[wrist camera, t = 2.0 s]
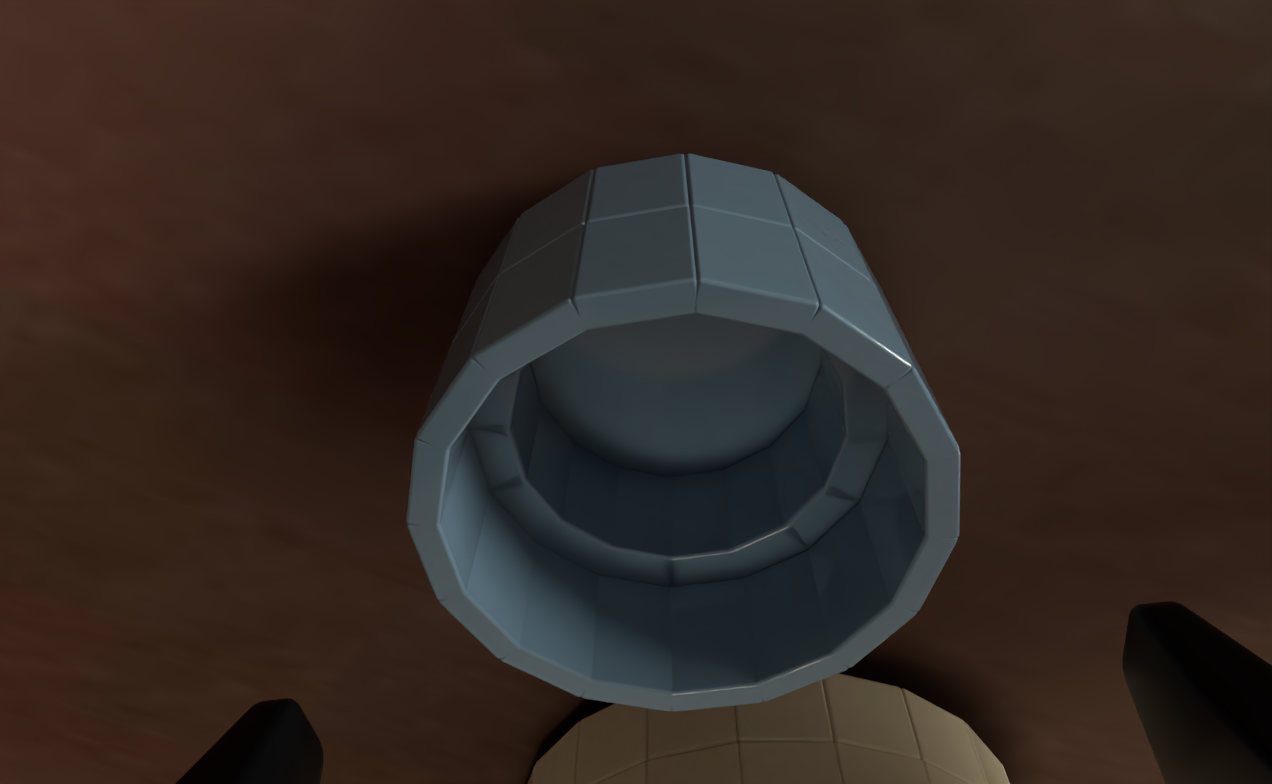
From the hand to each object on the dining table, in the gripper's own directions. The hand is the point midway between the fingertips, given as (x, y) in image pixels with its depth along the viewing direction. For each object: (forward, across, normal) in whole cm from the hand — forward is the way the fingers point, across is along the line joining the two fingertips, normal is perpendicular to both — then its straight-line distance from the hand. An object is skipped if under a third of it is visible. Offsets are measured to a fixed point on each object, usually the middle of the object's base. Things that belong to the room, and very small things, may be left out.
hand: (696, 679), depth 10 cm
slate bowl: (+7, 0, 0) cm, 7 cm away
